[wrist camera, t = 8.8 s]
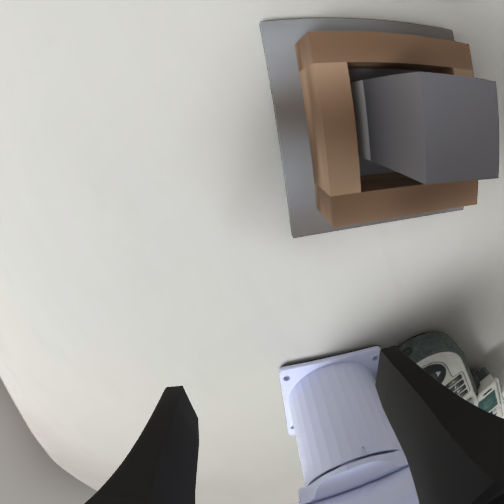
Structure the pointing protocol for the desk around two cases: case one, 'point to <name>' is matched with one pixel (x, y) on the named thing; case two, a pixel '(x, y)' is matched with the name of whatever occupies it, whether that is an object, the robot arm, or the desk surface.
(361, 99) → the connector plug
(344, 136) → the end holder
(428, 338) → the communication device
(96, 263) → the desk surface
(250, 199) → the desk surface
